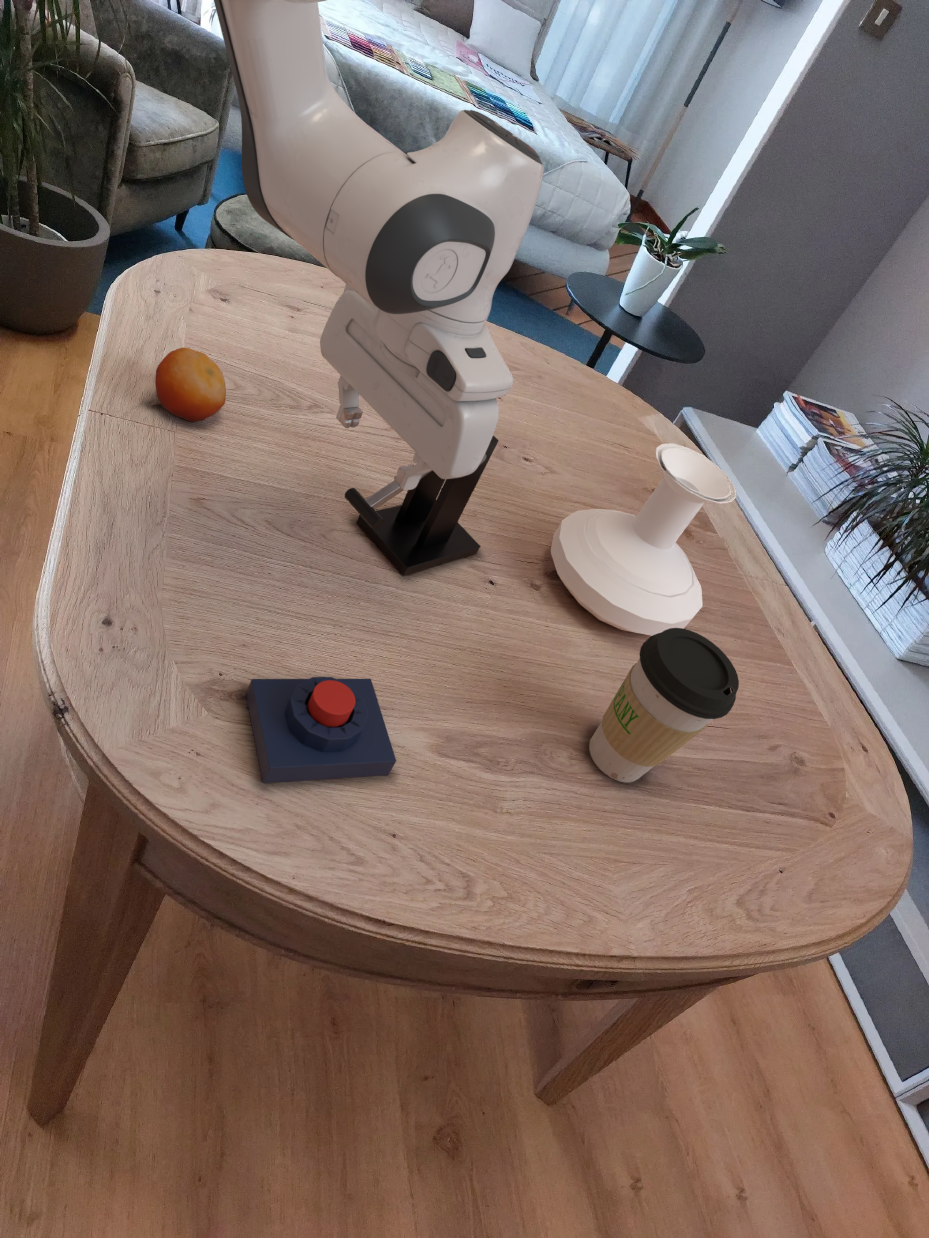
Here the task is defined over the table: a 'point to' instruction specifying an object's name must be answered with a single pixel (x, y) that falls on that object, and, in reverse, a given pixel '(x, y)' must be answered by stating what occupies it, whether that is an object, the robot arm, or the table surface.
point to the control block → (316, 733)
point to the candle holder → (642, 549)
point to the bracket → (428, 522)
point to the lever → (373, 502)
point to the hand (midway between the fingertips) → (374, 453)
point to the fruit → (190, 385)
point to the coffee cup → (663, 703)
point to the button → (331, 703)
